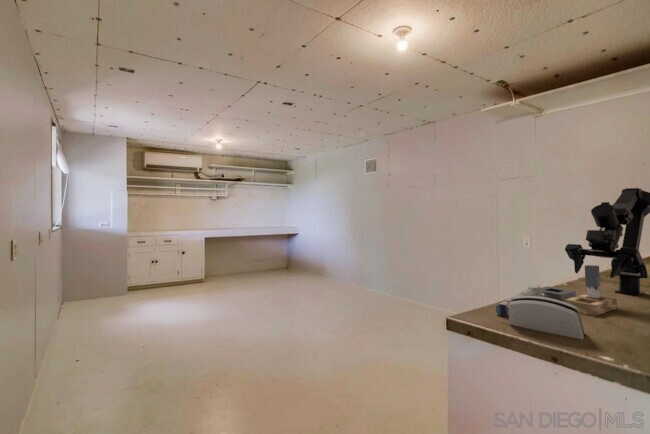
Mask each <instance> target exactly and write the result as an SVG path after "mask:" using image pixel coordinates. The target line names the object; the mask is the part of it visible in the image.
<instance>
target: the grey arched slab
mask: <svg viewBox="0 0 650 434" xmlns="http://www.w3.org/2000/svg"><path fill="white" fill-rule="evenodd" d="M508 325H509V326H513V325H514V327H518V326H519V328H524V329H529V330H533V331H539V332H544V333H548V334H553V335H559V336H564V337H568V338H573V339H578V340H583V339H584V338H585V336H584V335H585V333H586V332H585V328H584V324H583V321H582V316H581V313H580V312H579V309H578V308H577V307H576V306H574V305H571V304H568V303H566V302H563V301H559V300H556V299H551V298H546V297H539V296H520V297H514V298H513V299H512V300H511V302H510V303H509V315H508Z"/></svg>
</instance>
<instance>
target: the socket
mask: <svg viewBox="0 0 650 434" xmlns="http://www.w3.org/2000/svg"><path fill="white" fill-rule="evenodd" d="M540 288H541V293H543V294H544V297H546V298H551V299H556V300H559V301H563V302H564V300H565V299H569V298H572V297H576V296H577V294H576V291H575V290H572V289H571V290H570V289H566V288H560V287H556V286H555V287H553V286H542V287H540Z"/></svg>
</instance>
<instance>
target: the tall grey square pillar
mask: <svg viewBox="0 0 650 434" xmlns="http://www.w3.org/2000/svg"><path fill="white" fill-rule="evenodd" d="M584 280H585V287H586V288H587V294H588V298H589V299H595V300H600V296H601V293H600V292H601V291H600V287H601V277H600V265H596V264H595V265H593V264H592V265H591V264H586V265H584Z"/></svg>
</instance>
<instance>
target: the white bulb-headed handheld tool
mask: <svg viewBox="0 0 650 434" xmlns="http://www.w3.org/2000/svg"><path fill="white" fill-rule="evenodd" d="M541 288H542V287H541V286H540V285H538V284H529V285H528V287H527V289H525V290H523V291H521V292H519V293H517V294H515V295H513V296H511V297H508V298H507V299H503V300H501V301H500V302H499V304H497V305H496V306H495V313H496V314H497V315H498V316H501V317H509V303H510V302H511V300H512V299H513V298H514V297H520V296H539V297H544V294H543V293H541Z"/></svg>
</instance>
